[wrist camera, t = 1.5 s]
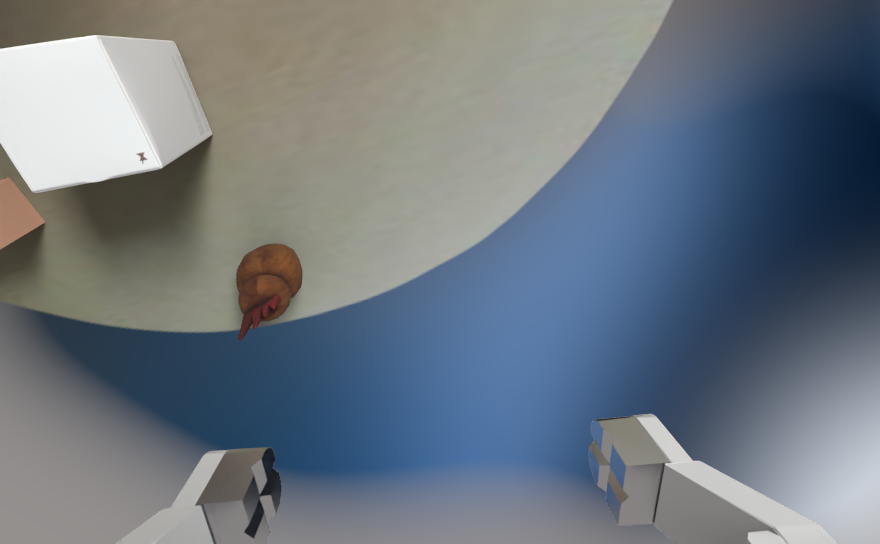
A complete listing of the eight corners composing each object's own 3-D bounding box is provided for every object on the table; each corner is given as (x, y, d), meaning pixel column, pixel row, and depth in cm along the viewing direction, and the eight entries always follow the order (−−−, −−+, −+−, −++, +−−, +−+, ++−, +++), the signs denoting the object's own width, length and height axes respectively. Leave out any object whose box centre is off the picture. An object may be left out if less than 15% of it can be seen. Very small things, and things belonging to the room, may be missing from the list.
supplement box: (176, 37, 39) (99, 31, 26) (215, 135, 43) (166, 171, 30) (70, 53, 37) (-65, 54, 24) (122, 152, 42) (30, 197, 29)
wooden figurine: (254, 284, 51) (229, 362, 39) (238, 243, 49) (206, 312, 36) (309, 273, 53) (303, 345, 40) (296, 232, 50) (285, 295, 37)
